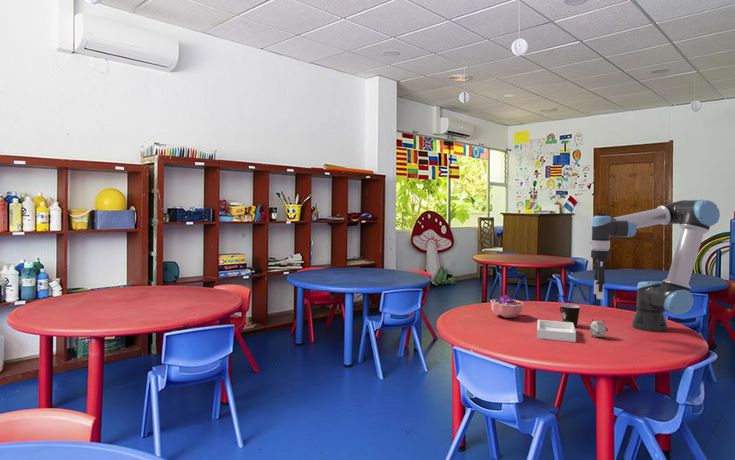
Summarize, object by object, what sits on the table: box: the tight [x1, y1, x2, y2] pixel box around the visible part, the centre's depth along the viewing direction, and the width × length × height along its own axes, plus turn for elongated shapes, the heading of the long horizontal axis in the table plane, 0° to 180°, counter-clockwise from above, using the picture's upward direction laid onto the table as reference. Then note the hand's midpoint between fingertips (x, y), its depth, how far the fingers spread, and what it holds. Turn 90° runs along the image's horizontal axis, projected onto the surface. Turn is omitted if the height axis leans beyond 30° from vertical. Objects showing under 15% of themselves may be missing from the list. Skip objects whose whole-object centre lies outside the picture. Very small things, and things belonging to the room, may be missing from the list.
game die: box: [587, 319, 609, 339], centre depth 222 cm, size 9×8×10 cm
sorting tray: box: [536, 319, 577, 343], centre depth 226 cm, size 16×21×4 cm
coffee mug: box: [559, 303, 581, 329], centre depth 244 cm, size 12×9×10 cm
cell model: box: [489, 294, 524, 319], centre depth 262 cm, size 17×20×11 cm
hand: (598, 296), depth 221 cm, fingers open, 13 cm apart
